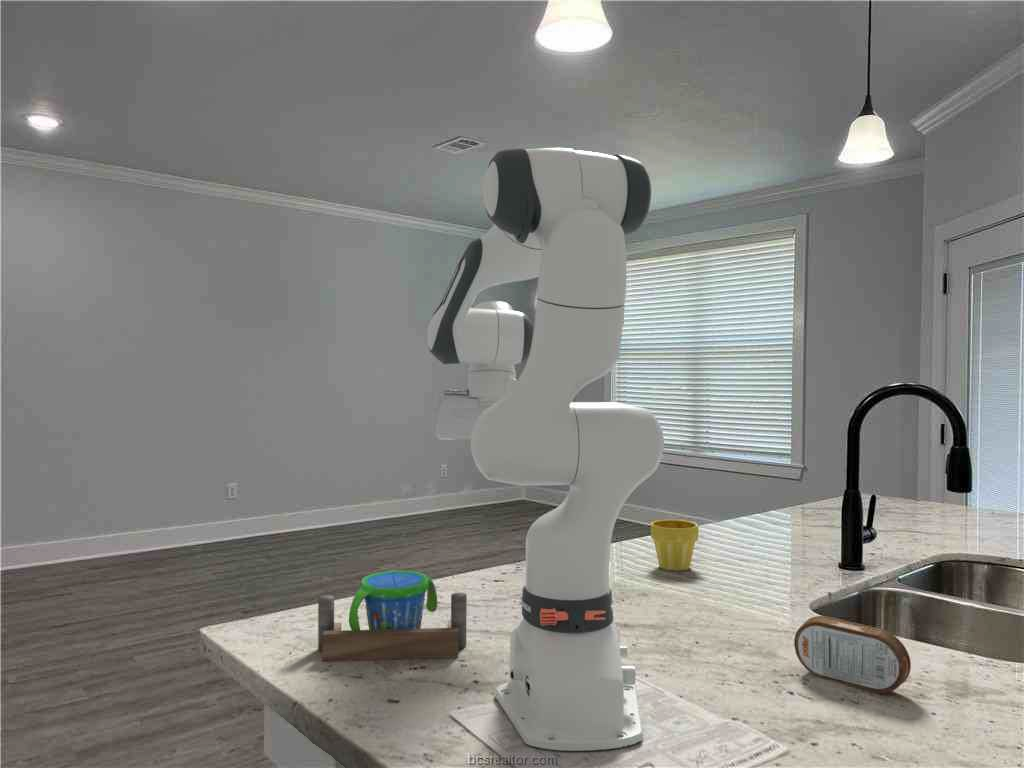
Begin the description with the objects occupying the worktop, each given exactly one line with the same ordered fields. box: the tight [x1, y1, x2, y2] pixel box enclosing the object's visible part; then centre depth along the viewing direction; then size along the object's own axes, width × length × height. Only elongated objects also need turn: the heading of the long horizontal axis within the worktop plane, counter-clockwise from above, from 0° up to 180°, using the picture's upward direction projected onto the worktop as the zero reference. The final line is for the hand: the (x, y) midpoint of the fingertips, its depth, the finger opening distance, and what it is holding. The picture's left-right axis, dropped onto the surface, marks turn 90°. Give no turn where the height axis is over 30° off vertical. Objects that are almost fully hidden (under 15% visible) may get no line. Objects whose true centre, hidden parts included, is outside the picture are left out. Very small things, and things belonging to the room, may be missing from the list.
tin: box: [793, 615, 912, 694], centre depth 106 cm, size 15×3×8 cm, turn 48°
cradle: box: [317, 592, 468, 662], centre depth 119 cm, size 10×23×8 cm, turn 95°
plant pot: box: [650, 519, 699, 572], centre depth 170 cm, size 10×10×10 cm
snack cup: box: [348, 570, 438, 630], centre depth 121 cm, size 16×10×10 cm
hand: (491, 465), depth 139 cm, fingers closed
